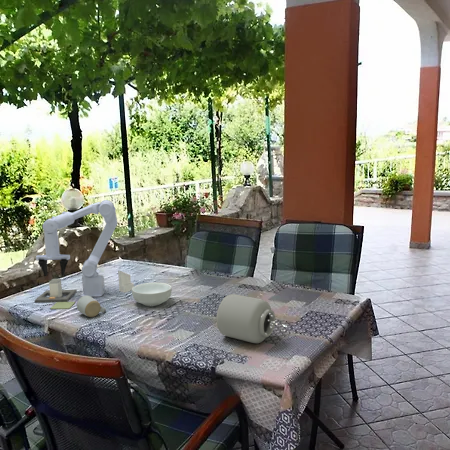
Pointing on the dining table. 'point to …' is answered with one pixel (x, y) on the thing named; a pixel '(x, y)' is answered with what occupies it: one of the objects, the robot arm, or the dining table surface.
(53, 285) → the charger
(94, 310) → the ceramic mug
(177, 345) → the dining table surface
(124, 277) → the white wedge bracket
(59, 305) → the rubber mat
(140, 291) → the cereal bowl
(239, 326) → the jar
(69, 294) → the grey square frame
